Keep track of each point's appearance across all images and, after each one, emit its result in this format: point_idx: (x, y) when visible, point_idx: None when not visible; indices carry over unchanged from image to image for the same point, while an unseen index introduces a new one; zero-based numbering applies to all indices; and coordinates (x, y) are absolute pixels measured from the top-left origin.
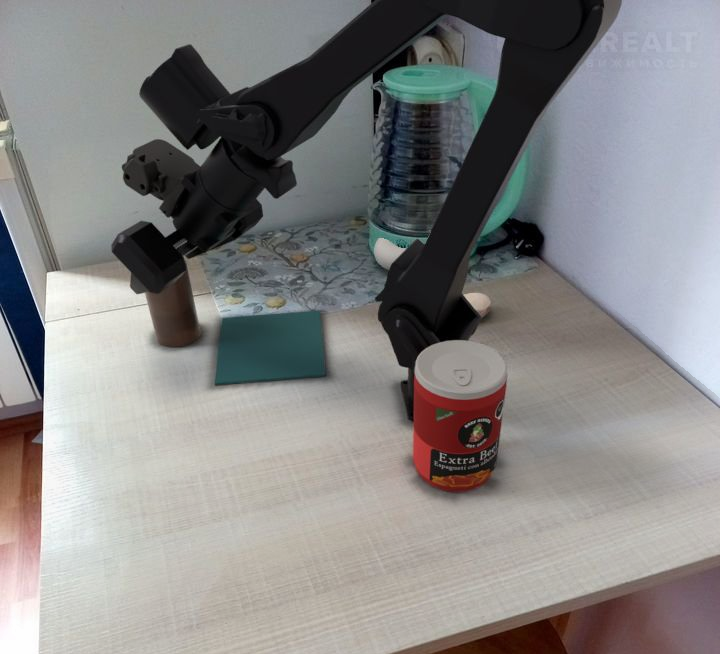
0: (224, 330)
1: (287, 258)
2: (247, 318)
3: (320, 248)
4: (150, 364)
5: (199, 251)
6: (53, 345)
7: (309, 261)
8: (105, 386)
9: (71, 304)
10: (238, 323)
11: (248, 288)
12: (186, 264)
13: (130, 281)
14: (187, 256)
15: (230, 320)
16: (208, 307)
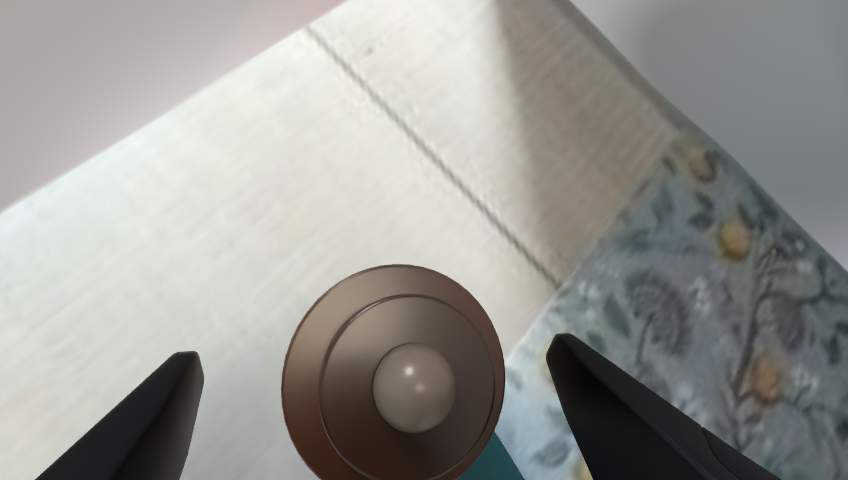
0: None
1: (751, 353)
2: (503, 472)
3: (818, 396)
4: (214, 376)
5: (583, 437)
6: (208, 87)
7: (769, 412)
8: (65, 337)
9: (381, 23)
10: (474, 467)
11: (615, 358)
12: (465, 469)
13: (132, 392)
14: (550, 358)
15: None
16: (506, 326)
